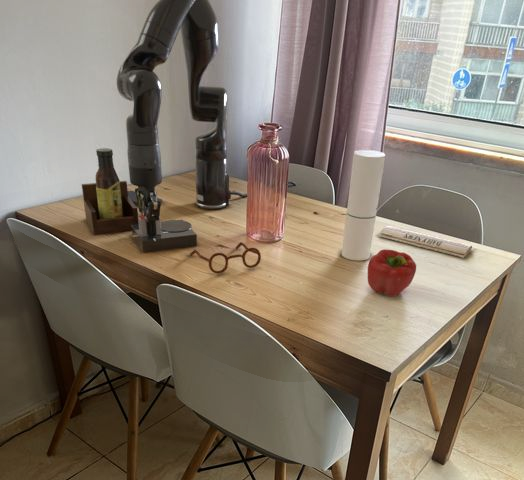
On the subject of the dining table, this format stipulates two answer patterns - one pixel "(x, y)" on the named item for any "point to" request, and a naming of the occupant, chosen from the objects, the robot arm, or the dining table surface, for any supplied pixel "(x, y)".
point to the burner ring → (175, 225)
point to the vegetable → (390, 272)
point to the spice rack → (113, 223)
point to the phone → (133, 198)
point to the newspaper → (426, 241)
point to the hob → (164, 239)
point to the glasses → (231, 257)
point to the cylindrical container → (362, 204)
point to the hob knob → (144, 229)
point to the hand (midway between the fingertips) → (150, 233)
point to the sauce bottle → (108, 186)
